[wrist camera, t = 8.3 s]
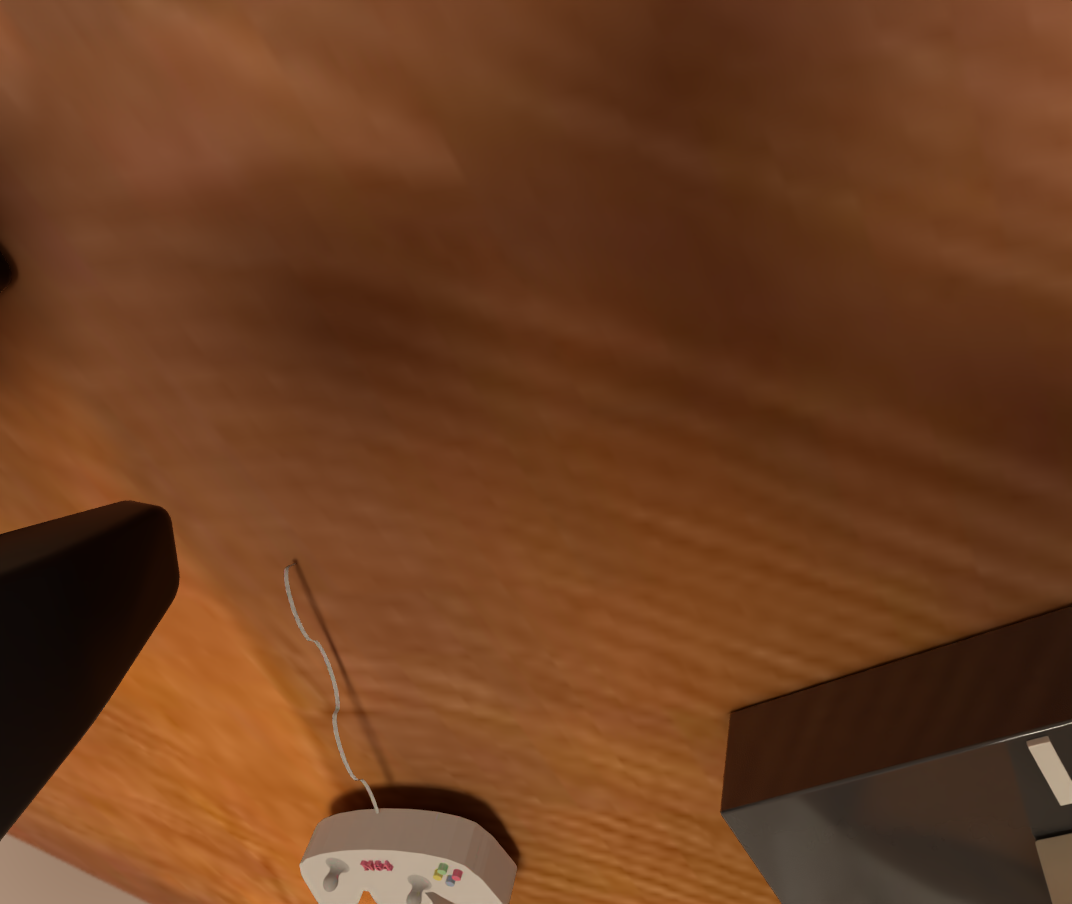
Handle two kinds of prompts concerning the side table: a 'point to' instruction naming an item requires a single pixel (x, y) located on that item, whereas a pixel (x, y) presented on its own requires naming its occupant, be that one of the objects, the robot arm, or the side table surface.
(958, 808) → the panel
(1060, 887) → the knob
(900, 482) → the side table surface
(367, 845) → the game controller
